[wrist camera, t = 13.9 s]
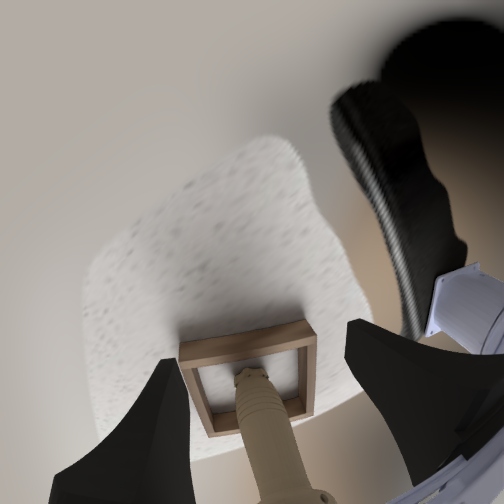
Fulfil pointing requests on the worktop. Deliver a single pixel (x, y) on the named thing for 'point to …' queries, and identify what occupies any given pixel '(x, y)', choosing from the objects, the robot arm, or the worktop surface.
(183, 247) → the worktop surface
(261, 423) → the handle
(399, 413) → the robot arm
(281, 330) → the collar
